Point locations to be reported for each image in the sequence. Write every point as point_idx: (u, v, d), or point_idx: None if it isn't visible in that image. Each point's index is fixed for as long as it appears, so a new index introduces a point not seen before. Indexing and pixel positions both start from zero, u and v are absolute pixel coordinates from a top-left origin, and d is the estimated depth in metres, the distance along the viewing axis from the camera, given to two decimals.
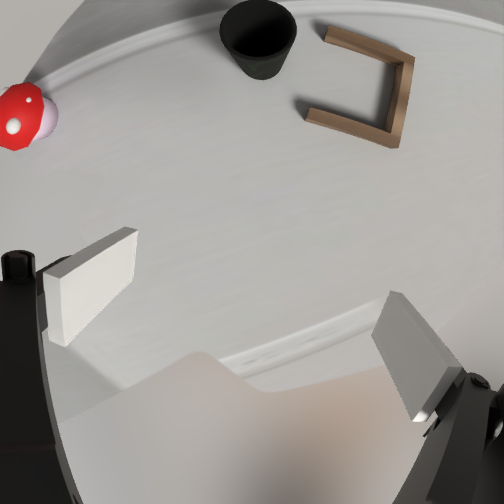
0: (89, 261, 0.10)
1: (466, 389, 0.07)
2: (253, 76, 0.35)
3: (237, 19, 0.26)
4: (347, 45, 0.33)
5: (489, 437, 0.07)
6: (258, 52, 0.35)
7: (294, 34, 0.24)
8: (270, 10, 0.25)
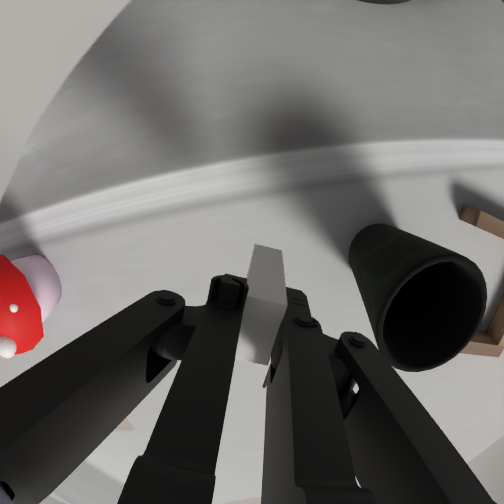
0: None
1: (291, 334, 0.09)
2: None
3: None
4: None
5: (344, 394, 0.09)
6: None
7: (478, 326, 0.15)
8: None
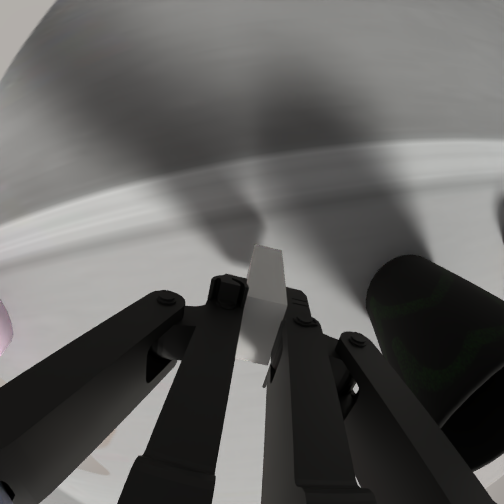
0: None
1: (291, 334, 0.09)
2: None
3: None
4: None
5: (344, 394, 0.09)
6: None
7: None
8: None
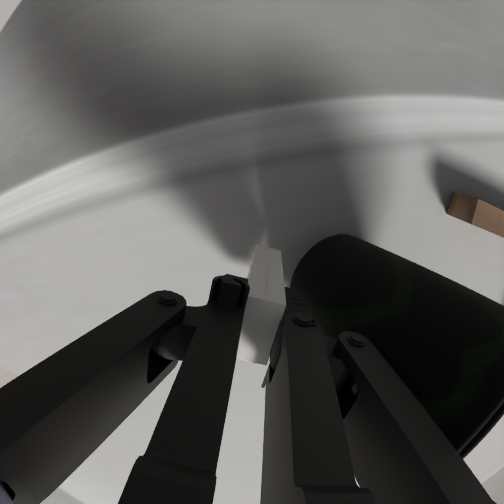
0: (267, 281, 0.12)
1: (290, 334, 0.09)
2: None
3: None
4: None
5: (343, 394, 0.09)
6: None
7: None
8: None
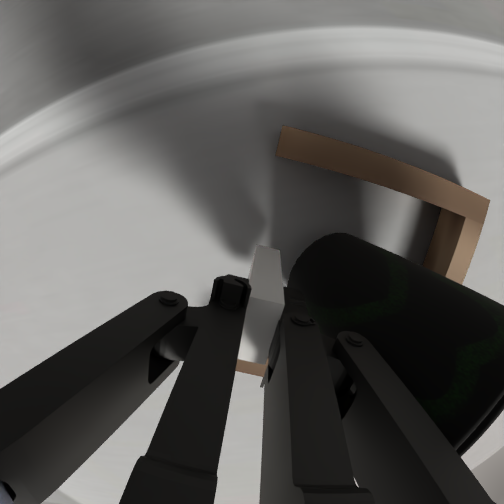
0: (268, 281, 0.12)
1: (289, 334, 0.09)
2: None
3: None
4: None
5: (342, 394, 0.09)
6: None
7: None
8: None
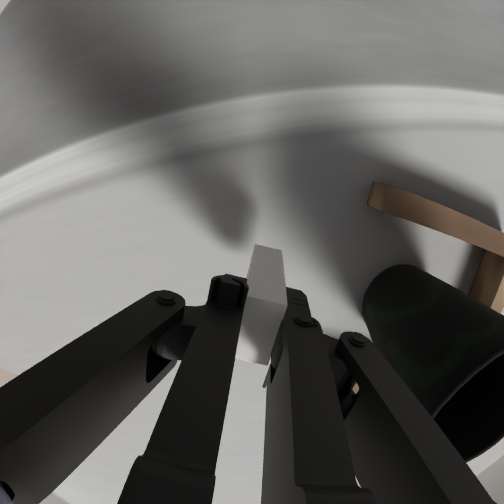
0: None
1: (291, 334, 0.09)
2: None
3: None
4: None
5: (344, 394, 0.09)
6: None
7: None
8: None
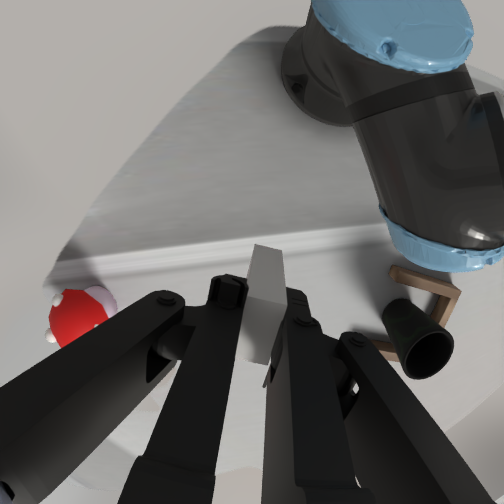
0: None
1: (291, 334, 0.09)
2: None
3: None
4: None
5: (344, 394, 0.09)
6: None
7: None
8: None
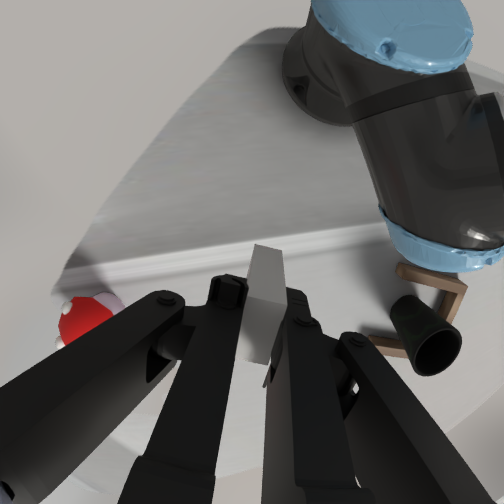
0: None
1: (291, 334, 0.09)
2: None
3: None
4: None
5: (344, 394, 0.09)
6: None
7: (457, 355, 0.32)
8: None
